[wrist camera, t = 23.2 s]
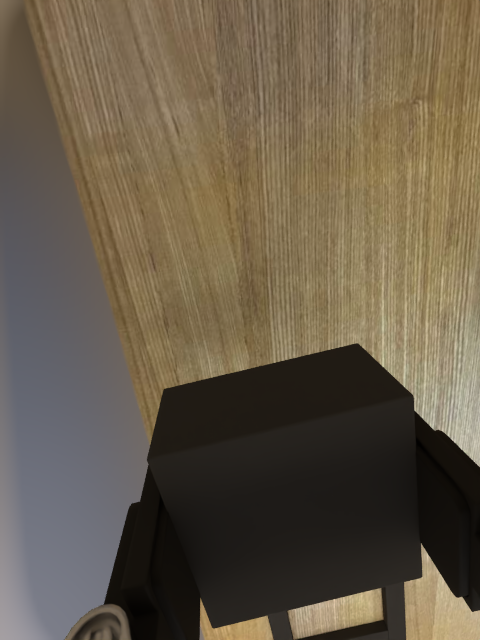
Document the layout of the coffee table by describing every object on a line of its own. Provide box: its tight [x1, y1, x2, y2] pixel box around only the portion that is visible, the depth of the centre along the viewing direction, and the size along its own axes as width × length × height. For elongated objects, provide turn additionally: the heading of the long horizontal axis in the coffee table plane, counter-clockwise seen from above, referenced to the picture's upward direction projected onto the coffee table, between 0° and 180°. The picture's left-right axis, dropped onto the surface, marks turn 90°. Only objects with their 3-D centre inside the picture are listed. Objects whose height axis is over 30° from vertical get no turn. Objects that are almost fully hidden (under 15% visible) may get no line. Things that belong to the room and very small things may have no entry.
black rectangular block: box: [147, 343, 422, 628], centre depth 10 cm, size 6×6×3 cm
